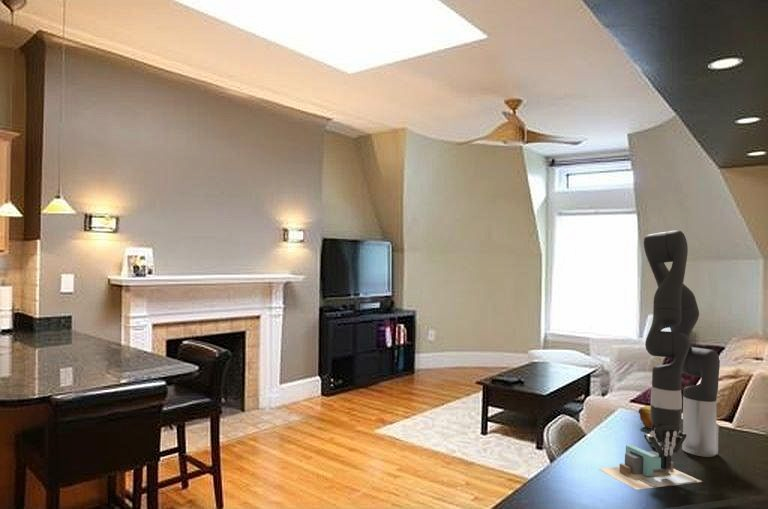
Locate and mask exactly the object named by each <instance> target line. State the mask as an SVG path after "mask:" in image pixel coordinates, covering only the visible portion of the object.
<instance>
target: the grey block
mask: <svg viewBox="0 0 768 509" xmlns="http://www.w3.org/2000/svg"><path fill="white" fill-rule="evenodd" d="M647 452H649V453H651V454H654V455H656V456H658V457H659V454H658V453H657V452H654V451H653V450H649V451H647ZM624 464H625V465H627V466H629V467H631V473H632V474H634V475H636V474H643V456H641V455H638V454H636V453H628V454H626V453H624ZM662 471H668V469H666V470H665V469H662V468H661V469H656V470H655V469H653V472H662Z"/></svg>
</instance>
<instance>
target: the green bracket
mask: <svg viewBox="0 0 768 509" xmlns="http://www.w3.org/2000/svg"><path fill="white" fill-rule="evenodd" d="M628 453H636V454H638V455H641V456H643V475H645V476H647V477H648V476H653V469H655V470H656V469H661V458H660V457H658V456H656V455H654V454H651V453H649V452H648V451H647V450H644V449H642V448H639V447H638V446H635V445H633V444H626V445H625V454H628Z"/></svg>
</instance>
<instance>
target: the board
mask: <svg viewBox="0 0 768 509" xmlns="http://www.w3.org/2000/svg"><path fill="white" fill-rule="evenodd" d="M598 470H599V471H601V472H603V473H605V475H608V476H610V477H612V478H614V479H616V480H618V481H620V482H621V483H623V484H625V485H627V486H628V487H630V488H632V489H635V490H636V491H638V490H644V489H645V490H646V489H647V490H648V489H653V488H654V489H655V488H661V487H670V486H678V485H685V484H687V485H688V484H693V483H702V482H703V481H702V480H700V479H697V478H695V477H693V476H691V475H689V474H687V473H685V472H682V471H680V470H677V469H676V468H674V462H673V461H671V467H670V469H668V471H662V472H653V476H648V477H647V476H645V475H643V474H636V475H634V474H632V473H631V467H629V466H627V465H625V463H623V462H622V463H619V466H615V467H614V466H613V467H605V468H598Z"/></svg>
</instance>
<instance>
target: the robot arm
mask: <svg viewBox="0 0 768 509" xmlns="http://www.w3.org/2000/svg"><path fill="white" fill-rule="evenodd" d="M643 248H644V252H645V256H646V259H647V262H648V264H649V266H650V269H651V271H652V273H653V277H654V280H655V282H656V285H657V289H656V291H655V293H654V295H653V296H654V297H653V304H652V305H653V308H652V309H653V314H652V321H651V326H650V327H649V328H650V329H649V331H648V333H647V336H646V339H645V349H646V351H647V353H648V354H649V355H650V356H653V357H661V358H670V359H671V358H672V359H673V360H672V361H671V362H670V363H666V364H658V365H654V366H653V367H652V370H651V372H652V374H651V390H650V391H651V392H650V406H651V410H650V418H651V420H652V422H653V425H652V427H651V428H650V429H651V430H650V431H649V433H645V434H644V436H643V437H644V439H645V440H646V442H647V444H648V446H649V447H650V449H651V451H654V452H657V453H658V454H659V457H660V458H661V468H662V469H665V470H666V469H670V467H671V462H672V456H673V454H674V453H675V454H676V453H678V452H679V450H680V448H681V449H682V451H683V452H686V453H688V454H690V455H694V456H699V457H704V458H712V457H715V456H717V455H719V423H717V399H718V398H717V397H718V391H719V379H720V378H719V377H720V369H721V368H720V367H721V366H720V365H721V363H720V356H719V354H718V352H717V351H715V350H714V349H708V348H701V347H694V346H693V345H692V342H691V338H690V336H691V333H692V331H693V329H694V327H695V326H696V324H697V322H698V321H699V316H700V311H699V306H698V303H697V299H696V296H695V294H694V292H693V291H692V290H691V289H690V288H689V287H688V286H687V285H686V284H685V283H684V280H685V274H686V267H687V260H688V251H689V249H688V242H687V238H686V235H685V233H684V232H683V231H682V230H677V229H676V230H668V231H663V232H656V233H655V232H654V233H650V234H647V235H646V236H645V237H644V239H643ZM666 263H672V264H671V268H670V270H669V269H668V268H667V265H666ZM669 328H670V331H666V330H665V329H669ZM663 329H664V330H663ZM682 374H685V375H688V376H692V377H697V378H701V379H700V383H698V384H694V385H688V386H685V387H683V392H682ZM681 424H682V431H681V427H680V425H681Z"/></svg>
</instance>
